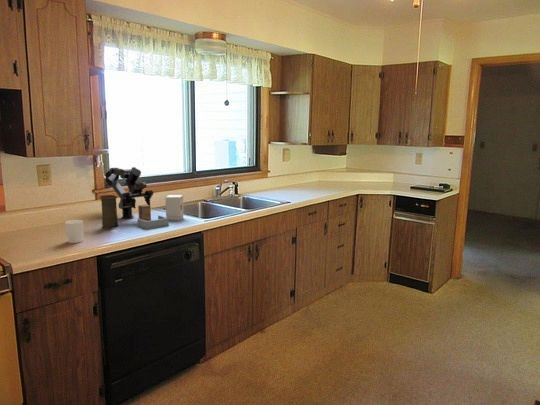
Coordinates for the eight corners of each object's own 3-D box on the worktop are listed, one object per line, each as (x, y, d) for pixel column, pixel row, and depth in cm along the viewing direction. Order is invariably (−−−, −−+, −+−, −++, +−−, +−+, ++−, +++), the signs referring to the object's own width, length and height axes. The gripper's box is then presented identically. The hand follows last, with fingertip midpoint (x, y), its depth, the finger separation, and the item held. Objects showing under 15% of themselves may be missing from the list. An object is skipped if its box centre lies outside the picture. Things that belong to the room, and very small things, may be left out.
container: (104, 230, 221) (102, 198, 218) (99, 227, 228) (97, 195, 225) (121, 228, 227) (119, 196, 224) (115, 225, 234) (114, 194, 231)
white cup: (64, 241, 200) (62, 221, 198) (81, 238, 206) (79, 219, 204) (70, 244, 195) (68, 224, 193) (87, 241, 200) (85, 221, 198)
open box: (137, 227, 229) (137, 218, 229) (159, 223, 239) (159, 215, 238) (146, 230, 222) (146, 221, 221) (168, 226, 232) (168, 218, 231)
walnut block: (139, 224, 237) (138, 205, 235) (147, 222, 241) (146, 204, 239) (143, 225, 234) (142, 206, 232) (151, 224, 237) (150, 205, 235)
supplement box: (180, 221, 244) (180, 197, 242) (165, 221, 244) (165, 197, 242) (183, 218, 253) (183, 194, 251) (169, 218, 253) (168, 194, 251)
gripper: (121, 179, 231) (131, 200, 226) (151, 176, 244) (161, 197, 239) (116, 191, 238) (125, 212, 233) (145, 188, 251) (155, 208, 246)
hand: (142, 207), depth 237 cm, fingers open, 9 cm apart
